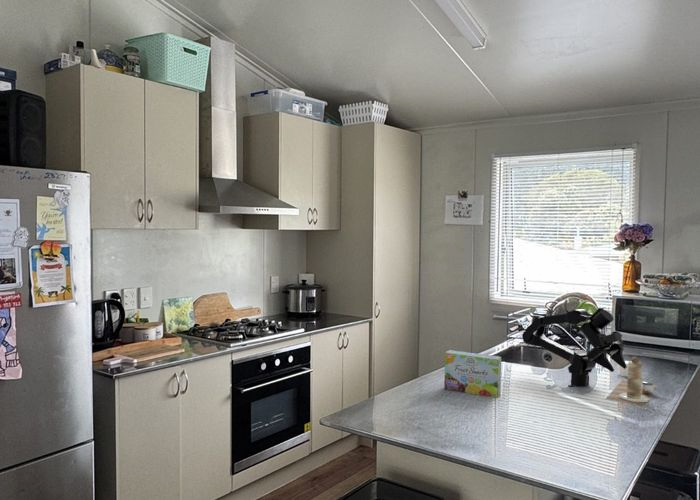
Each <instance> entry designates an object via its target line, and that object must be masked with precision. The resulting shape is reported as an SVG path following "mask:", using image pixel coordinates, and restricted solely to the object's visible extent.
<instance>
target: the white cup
mask: <svg viewBox="0 0 700 500" xmlns="http://www.w3.org/2000/svg"><path fill="white" fill-rule="evenodd" d="M624 361H625V364H626V366H627V368H625V369H624V368H623V367H621V366H620V365H619V364H617V363H616V364H617V365H616V367H617V375H618V376H621V377H627V378H628V362H629V361H630V360H625V359H624Z"/></svg>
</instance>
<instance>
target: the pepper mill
mask: <svg viewBox="0 0 700 500" xmlns="http://www.w3.org/2000/svg"><path fill="white" fill-rule="evenodd" d="M628 361H629V362H628V377H627V381H628V382H627V393H626V396H627V397H629V398H633V399H640V398H641V383H642V373H643V372H642V371H643V363H642V362H641V361H640V359H639V358H638V356H632V357H631V360H628Z"/></svg>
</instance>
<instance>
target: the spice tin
mask: <svg viewBox="0 0 700 500" xmlns="http://www.w3.org/2000/svg"><path fill="white" fill-rule="evenodd" d="M641 383H642V391H641V393H642V394H646V395H651V396H652V395H654V391H653V385H654V386H655V384H654V382H653V381H650V380H641Z"/></svg>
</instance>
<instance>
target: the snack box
mask: <svg viewBox="0 0 700 500" xmlns="http://www.w3.org/2000/svg"><path fill="white" fill-rule="evenodd" d="M501 379H502V356H497V355H489V354H485V353H483V354H482V353H475V352H468V351H459V350H453V349H449V350H447V351H445V352H444V382H443V389H444V390H449V391H455V392H461V393H466V394H471V395H479V396H485V397H490V398H495V399H497V398H499V396H500V395H501V382H502V380H501Z"/></svg>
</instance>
